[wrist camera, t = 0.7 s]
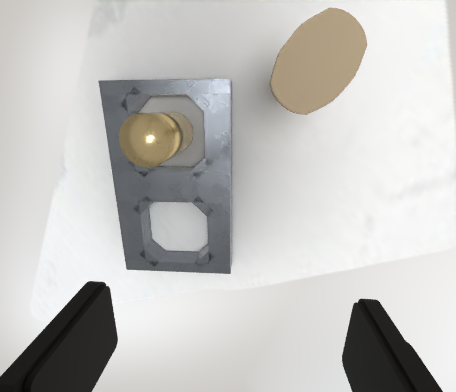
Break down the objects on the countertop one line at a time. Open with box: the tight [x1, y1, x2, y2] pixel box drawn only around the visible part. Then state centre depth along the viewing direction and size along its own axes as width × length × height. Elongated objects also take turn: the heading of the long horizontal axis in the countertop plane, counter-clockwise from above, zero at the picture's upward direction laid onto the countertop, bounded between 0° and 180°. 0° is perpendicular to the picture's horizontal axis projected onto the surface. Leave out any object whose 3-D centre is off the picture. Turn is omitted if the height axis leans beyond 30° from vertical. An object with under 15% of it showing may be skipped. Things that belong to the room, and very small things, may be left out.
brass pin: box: [119, 112, 193, 167], centre depth 29 cm, size 5×5×10 cm
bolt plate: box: [99, 79, 232, 274], centre depth 34 cm, size 25×15×3 cm, turn 0°
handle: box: [270, 8, 367, 115], centre depth 24 cm, size 5×6×15 cm
